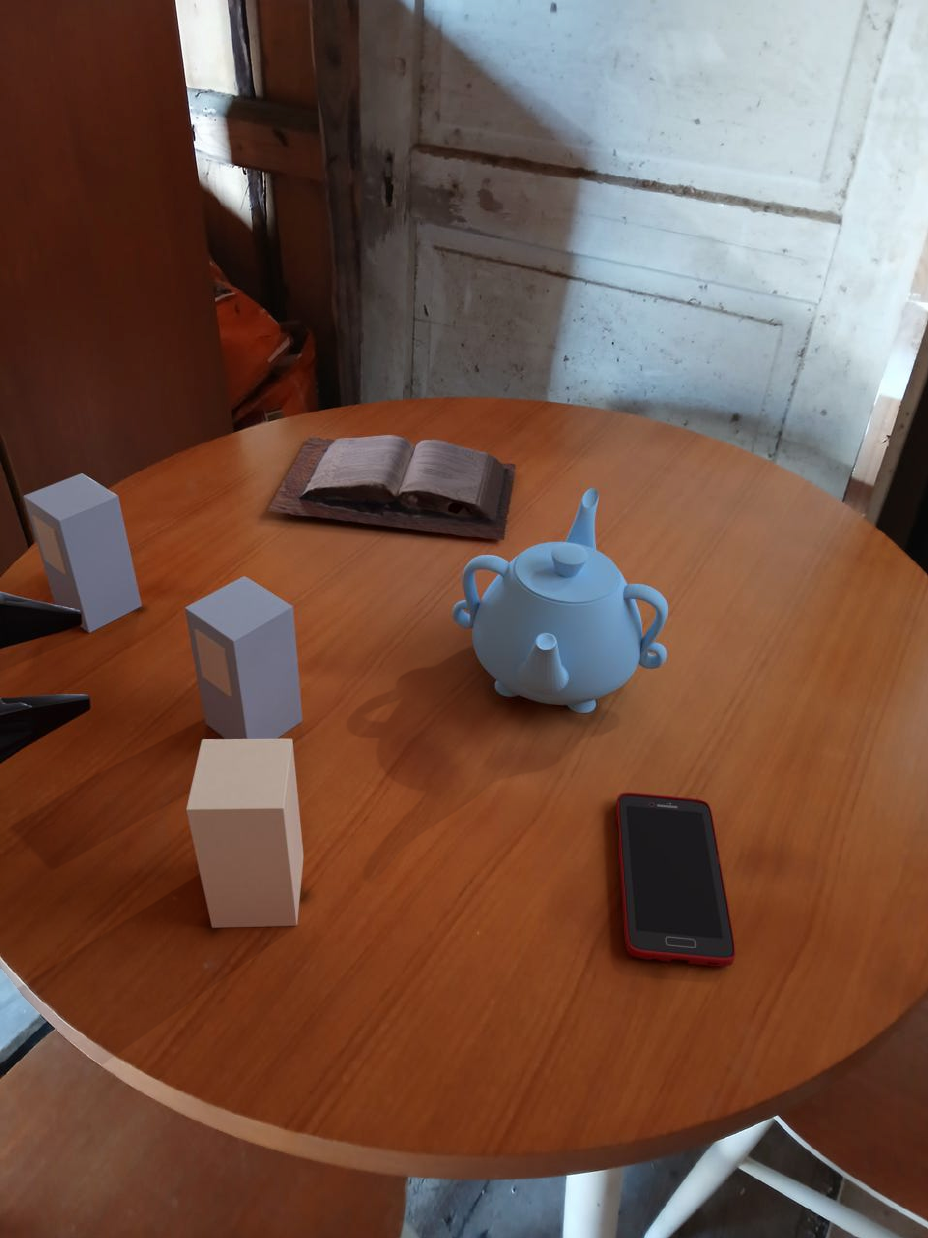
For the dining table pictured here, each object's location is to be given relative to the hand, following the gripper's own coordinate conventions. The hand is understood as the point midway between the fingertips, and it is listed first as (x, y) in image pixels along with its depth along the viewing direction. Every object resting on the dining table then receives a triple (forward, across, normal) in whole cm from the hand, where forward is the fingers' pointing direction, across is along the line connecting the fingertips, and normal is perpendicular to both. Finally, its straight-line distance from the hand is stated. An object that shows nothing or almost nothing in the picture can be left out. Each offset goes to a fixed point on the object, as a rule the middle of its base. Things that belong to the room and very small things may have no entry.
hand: (85, 657), depth 62 cm
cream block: (+10, -11, +15) cm, 21 cm away
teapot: (+41, +4, +11) cm, 43 cm away
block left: (+2, +28, +16) cm, 32 cm away
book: (+38, +41, +11) cm, 57 cm away
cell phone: (+40, -20, +11) cm, 46 cm away
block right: (+13, +6, +14) cm, 21 cm away
